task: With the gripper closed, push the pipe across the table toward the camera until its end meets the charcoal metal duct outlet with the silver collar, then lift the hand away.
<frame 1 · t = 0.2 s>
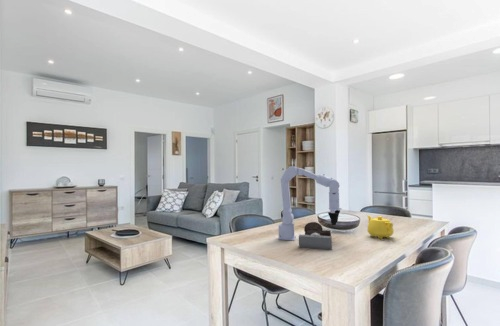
hand: (334, 223, 161), 10 cm above the table, tool pointing down, fingers open, 7 cm apart
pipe: (317, 240, 163), on the table
teapot: (379, 237, 168), on the table
duct outlet: (315, 247, 148), on the table
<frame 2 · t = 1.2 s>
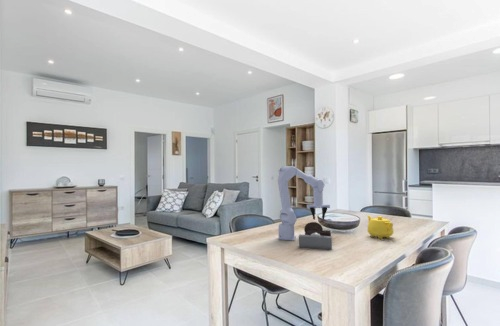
hand: (318, 219, 178), 9 cm above the table, tool pointing down, fingers open, 5 cm apart
nothing on the table moved.
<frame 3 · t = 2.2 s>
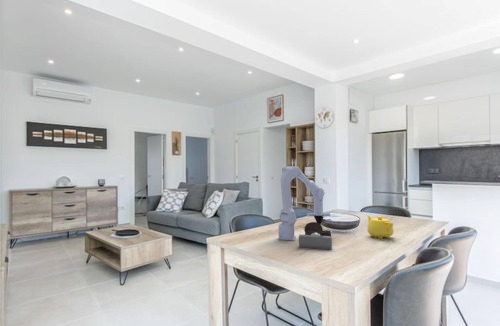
hand: (318, 227, 178), 4 cm above the table, tool pointing down, fingers closed
nothing on the table moved.
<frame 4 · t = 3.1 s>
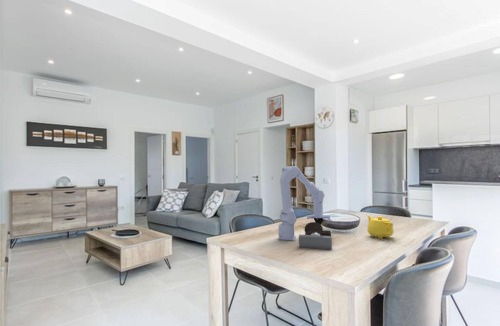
hand: (318, 229, 176), 3 cm above the table, tool pointing down, fingers closed
nothing on the table moved.
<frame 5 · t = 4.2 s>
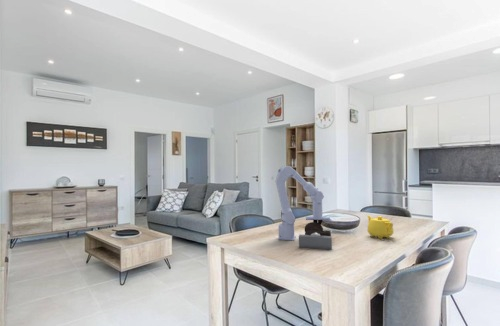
hand: (318, 232, 170), 3 cm above the table, tool pointing down, fingers closed, pressing on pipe
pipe: (317, 240, 162), on the table, touching gripper
everything else where it was.
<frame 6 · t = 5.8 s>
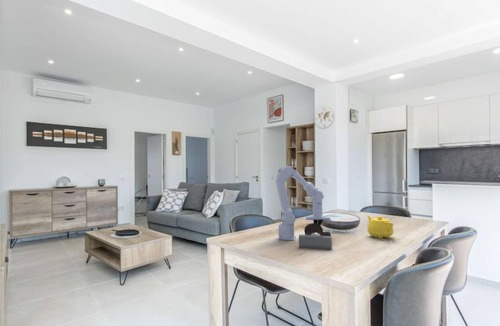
hand: (318, 231, 171), 3 cm above the table, tool pointing down, fingers closed
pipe: (317, 242, 159), on the table
everything else where it was.
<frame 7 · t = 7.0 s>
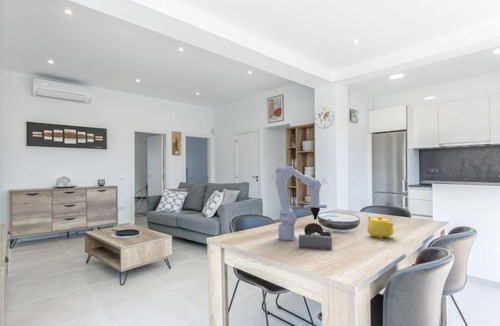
hand: (315, 219, 178), 9 cm above the table, tool pointing down, fingers closed
nothing on the table moved.
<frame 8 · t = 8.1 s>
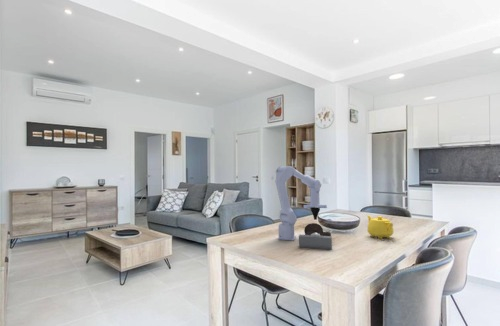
hand: (315, 219, 178), 9 cm above the table, tool pointing down, fingers closed
nothing on the table moved.
at the end: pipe inside the target area (1.9 cm from its centre), on the table; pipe moved 3.7 cm from its start; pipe tilted 2° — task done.
